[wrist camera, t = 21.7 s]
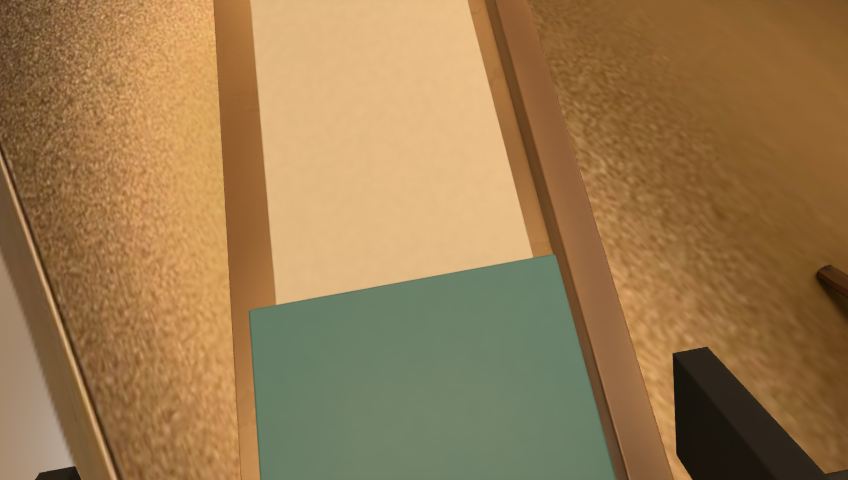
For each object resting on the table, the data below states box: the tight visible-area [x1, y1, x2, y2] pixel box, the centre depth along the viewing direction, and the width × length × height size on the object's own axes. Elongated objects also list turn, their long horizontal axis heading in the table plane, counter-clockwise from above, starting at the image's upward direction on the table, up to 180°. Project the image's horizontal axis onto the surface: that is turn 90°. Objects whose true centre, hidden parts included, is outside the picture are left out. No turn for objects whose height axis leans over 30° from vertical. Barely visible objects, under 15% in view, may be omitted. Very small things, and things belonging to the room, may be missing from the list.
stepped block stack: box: [249, 0, 617, 480], centre depth 23 cm, size 24×8×9 cm, turn 10°
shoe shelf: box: [213, 0, 674, 480], centre depth 28 cm, size 14×30×6 cm, turn 10°
